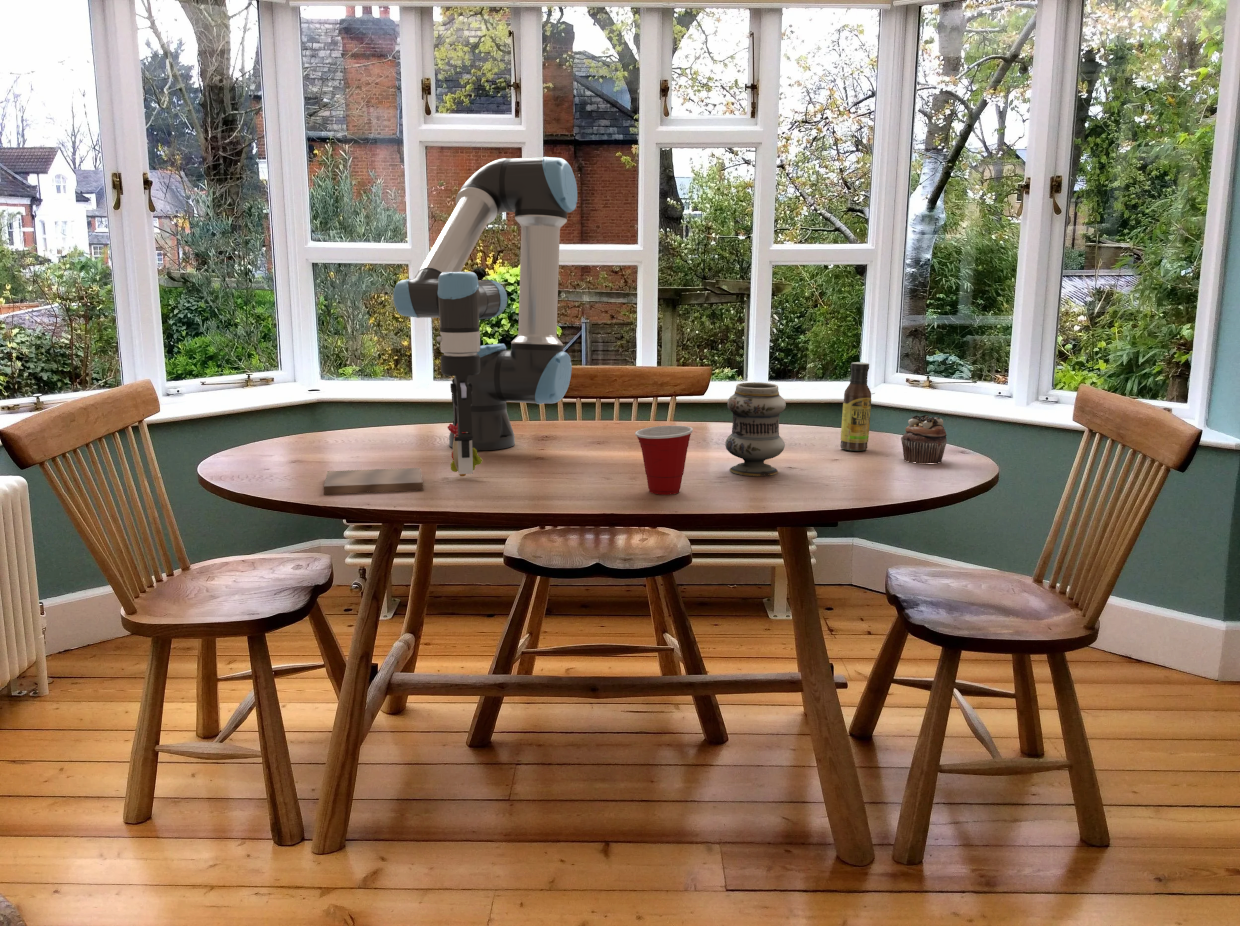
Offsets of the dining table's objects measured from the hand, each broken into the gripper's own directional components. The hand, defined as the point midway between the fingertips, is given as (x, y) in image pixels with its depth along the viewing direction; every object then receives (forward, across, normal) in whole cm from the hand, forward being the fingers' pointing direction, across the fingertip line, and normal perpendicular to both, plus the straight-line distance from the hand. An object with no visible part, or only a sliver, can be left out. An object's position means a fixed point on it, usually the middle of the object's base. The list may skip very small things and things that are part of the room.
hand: (463, 468), depth 204 cm
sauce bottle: (+3, -16, +90) cm, 91 cm away
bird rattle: (+1, 0, 0) cm, 1 cm away
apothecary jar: (+3, +3, +59) cm, 59 cm away
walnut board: (+2, 0, -17) cm, 17 cm away
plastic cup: (+3, +17, +36) cm, 40 cm away
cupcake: (+3, -1, +99) cm, 99 cm away
